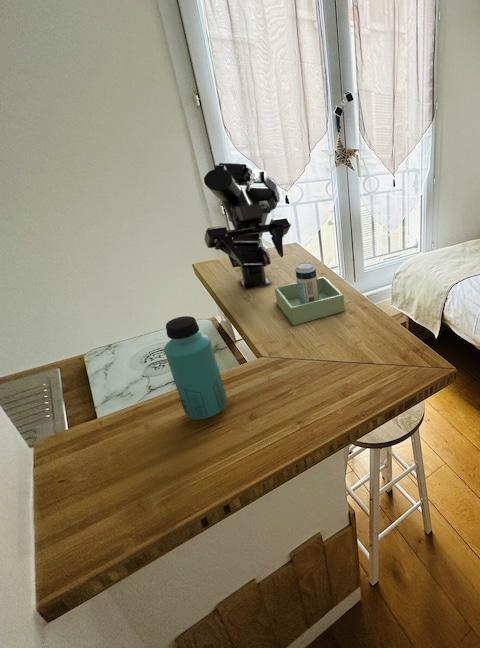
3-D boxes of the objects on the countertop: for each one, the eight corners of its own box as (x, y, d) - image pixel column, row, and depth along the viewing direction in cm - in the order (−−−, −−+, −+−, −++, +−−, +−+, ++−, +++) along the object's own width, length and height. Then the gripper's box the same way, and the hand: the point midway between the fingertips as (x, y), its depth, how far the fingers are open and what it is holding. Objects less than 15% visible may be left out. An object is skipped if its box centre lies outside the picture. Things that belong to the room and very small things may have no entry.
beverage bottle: (238, 407, 74) (215, 316, 65) (203, 432, 68) (174, 336, 60) (212, 396, 76) (187, 306, 67) (176, 420, 70) (143, 325, 61)
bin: (276, 303, 108) (274, 287, 106) (325, 291, 116) (324, 276, 114) (293, 325, 99) (290, 308, 97) (344, 310, 108) (343, 294, 106)
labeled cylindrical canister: (322, 302, 110) (318, 263, 104) (314, 310, 105) (309, 270, 100) (306, 300, 110) (301, 260, 105) (296, 308, 106) (291, 268, 100)
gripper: (197, 194, 89) (225, 255, 88) (283, 186, 102) (308, 239, 101) (194, 219, 97) (219, 275, 95) (274, 208, 110) (297, 257, 109)
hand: (263, 260), depth 100 cm, fingers open, 9 cm apart
